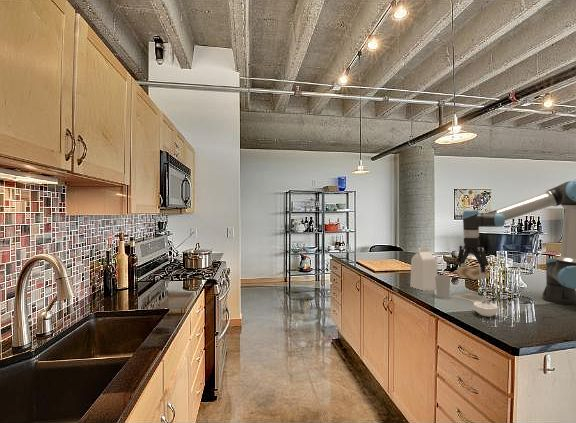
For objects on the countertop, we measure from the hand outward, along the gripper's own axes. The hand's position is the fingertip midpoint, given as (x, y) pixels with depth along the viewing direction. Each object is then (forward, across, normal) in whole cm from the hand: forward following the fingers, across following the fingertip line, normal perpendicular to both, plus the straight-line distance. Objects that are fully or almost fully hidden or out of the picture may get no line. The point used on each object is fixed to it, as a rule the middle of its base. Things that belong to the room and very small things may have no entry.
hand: (472, 276), depth 174 cm
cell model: (+13, +23, -20) cm, 33 cm away
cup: (+12, -7, -14) cm, 20 cm away
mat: (+12, 0, 0) cm, 12 cm away
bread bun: (0, 0, 0) cm, 0 cm away
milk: (+12, -28, -7) cm, 32 cm away
